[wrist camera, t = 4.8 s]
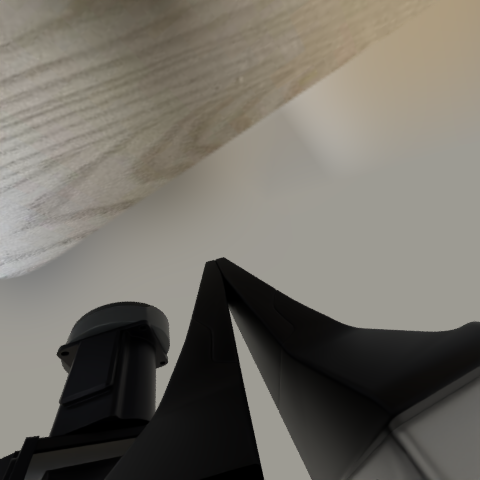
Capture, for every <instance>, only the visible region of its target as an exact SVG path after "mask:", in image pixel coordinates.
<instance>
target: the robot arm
mask: <svg viewBox="0 0 480 480" xmlns="http://www.w3.org/2000/svg"><path fill="white" fill-rule="evenodd" d="M229 309H230V311H231V313H232V315H233V317H234V319H235V322H236V324H237V326H238V327H239V330H240V332H241V334H242V336H243V338H244V340H245V342H246V344H247V346H248V348H249V350H250V353H251V355H252V357H253V359H254V361H255V363H256V365H257V367H258V369H259V371H260V373H261V375H262V377H263V379H264V381H265V384H266V386H267V388H268V390H269V392H270V394H271V396H272V398H273V400H274V402H275V404H276V406H277V408H278V410H279V413H280V415H281V417H282V419H283V421H284V423H285V425H286V427H287V429H288V431H289V433H290V435H291V438H292V440H293V442H294V444H295V446H296V448H297V450H298V452H299V454H300V456H301V458H302V460H303V462H304V464H305V466H306V469H307V471H308V473H309V475H310V477H311V479H312V480H480V322H470V323H468V324H465V325H463V326H462V327H460V328H457V329H454V330H449V331H441V332H440V331H439V332H423V331H422V332H421V331H404V330H384V329H364V328H356V327H352V326H348V325H345V324H342V323H340V322H338V321H336V320H334V319H332V318H330V317H328V316H326V315H324V314H321V313H319V312H317V311H315V310H313V309H311V308H309V307H307V306H305V305H303V304H301V303H299V302H297V301H295V300H293V299H291V298H290V297H288V296H286V295H285V294H283V293H281V292H280V291H278V290H276V289H275V288H273V287H271V286H270V285H268V284H266V283H265V282H263V281H262V280H260V279H258V278H257V277H255V276H254V275H252V274H250V273H248V272H247V271H245V270H244V269H242V268H241V267H239V266H237V265H236V264H234V263H232V262H230V261H229V260H227V259H226V258H224V257H223V258H219V259H216V260H212V261H208V262H206V264H205V268H204V272H203V275H202V280H201V283H200V287H199V292H198V295H197V299H196V303H195V307H194V311H193V314H192V319H191V322H190V326H189V330H188V333H187V336H186V340H185V342H184V345H183V348H182V351H181V353H180V356H179V358H178V361H177V363H176V366H175V368H174V371H173V373H172V376H171V379H170V381H169V384H168V386H167V388H166V391H165V393H164V396H163V398H162V400H161V402H160V405H159V407H158V409H157V410H156V412H155V398H156V396H155V395H156V394H155V393H156V368H159V367H162V366H164V365H166V364H167V363H168V357H167V355H166V353H165V351H164V349H163V347H162V345H161V343H160V341H159V339H158V338H157V336H156V334H155V332H154V330H153V328H152V326H151V324H150V322H149V321H148V320H140V321H137V322H134V323H131V324H127V325H124V326H121V327H118V328H115V329H112V330H109V331H106V332H103V333H99V334H96V335H93V336H90V337H87V338H84V339H81V340H78V341H74V342H71V343H68V344H65V345H63V346H61V347H60V348H59V350H58V352H57V356H58V357H59V358H60V359H61V360H62V361H63V362H64V363H65V364H66V365H67V366H68V367H70V368H71V369H70V372H69V375H68V377H67V380H66V383H65V386H64V389H63V392H62V395H61V397H60V400H59V403H60V406H59V409H58V412H57V415H56V418H55V421H54V424H53V427H52V430H51V432H50V435H49V437H45V438H39V436H34V437H26V439H25V442H24V444H23V446H22V448H21V450H20V451H15V453H13V454H10V455H8V456H6V457H4V458H2V459H0V480H264V477H263V472H262V468H261V463H260V458H259V453H258V449H257V444H256V439H255V435H254V430H253V425H252V420H251V416H250V411H249V407H248V402H247V397H246V392H245V388H244V383H243V378H242V373H241V368H240V363H239V358H238V353H237V347H236V342H235V337H234V332H233V327H232V322H231V317H230V312H229Z"/></svg>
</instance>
